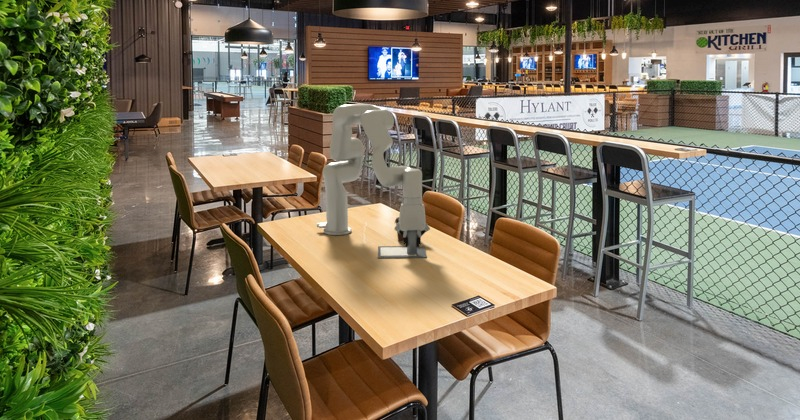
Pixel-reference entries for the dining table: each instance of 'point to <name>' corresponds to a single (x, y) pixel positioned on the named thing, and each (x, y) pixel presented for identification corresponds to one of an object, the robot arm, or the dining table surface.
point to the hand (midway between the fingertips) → (412, 245)
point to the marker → (412, 242)
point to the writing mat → (399, 252)
